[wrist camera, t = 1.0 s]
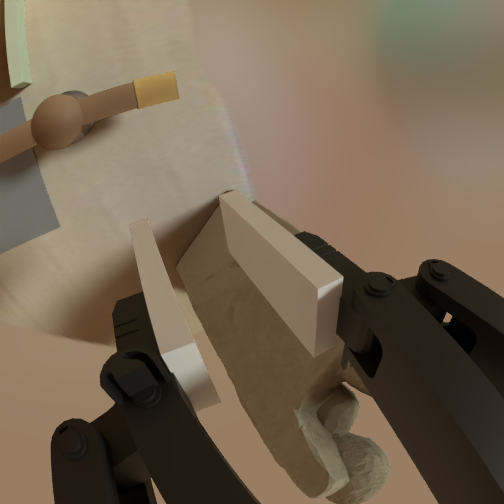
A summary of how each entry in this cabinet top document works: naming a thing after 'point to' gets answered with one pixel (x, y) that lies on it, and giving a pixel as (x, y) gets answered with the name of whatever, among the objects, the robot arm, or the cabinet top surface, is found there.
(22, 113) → the mat
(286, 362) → the sculpture
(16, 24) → the channel
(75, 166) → the cabinet top surface
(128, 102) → the turn bar
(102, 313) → the cabinet top surface
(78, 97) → the metal pivot base
